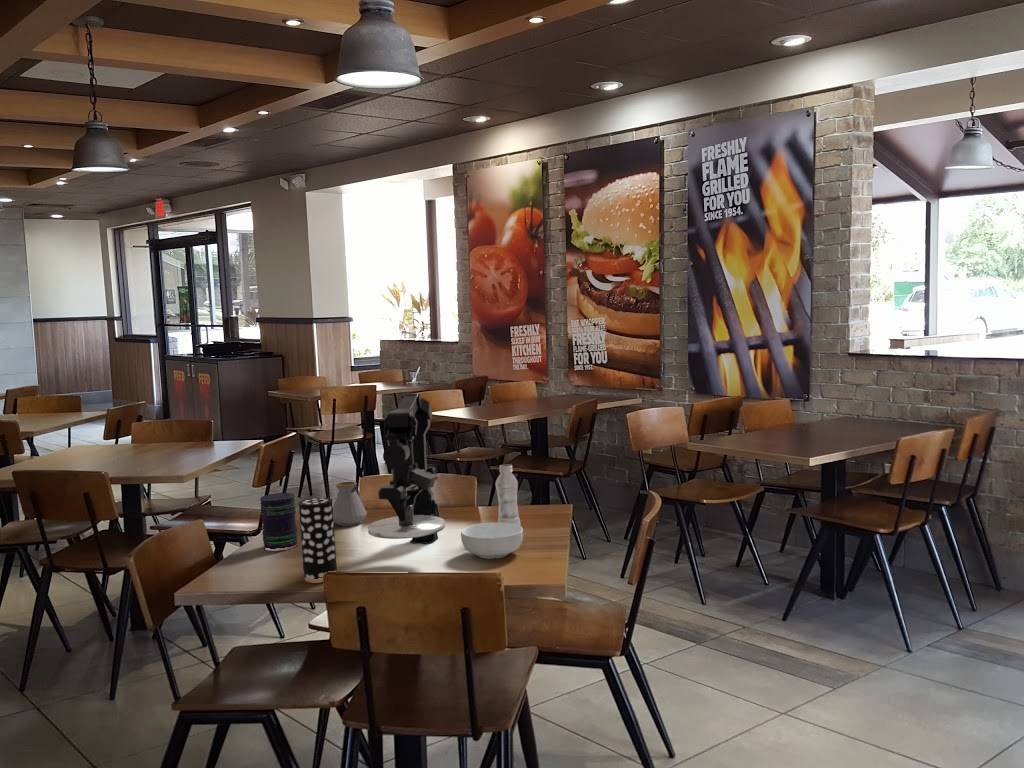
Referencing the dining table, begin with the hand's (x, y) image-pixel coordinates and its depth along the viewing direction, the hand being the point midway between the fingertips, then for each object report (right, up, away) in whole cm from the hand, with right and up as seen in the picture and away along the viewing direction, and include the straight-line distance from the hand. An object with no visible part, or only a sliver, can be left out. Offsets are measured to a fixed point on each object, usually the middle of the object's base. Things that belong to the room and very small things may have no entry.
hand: (406, 519), depth 239 cm
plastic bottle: (+27, -9, +30) cm, 41 cm away
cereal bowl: (+23, -11, +7) cm, 26 cm away
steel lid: (0, -3, 0) cm, 2 cm away
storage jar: (-39, -12, +27) cm, 49 cm away
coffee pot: (-22, -10, +47) cm, 53 cm away
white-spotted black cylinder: (-21, -14, -6) cm, 26 cm away
